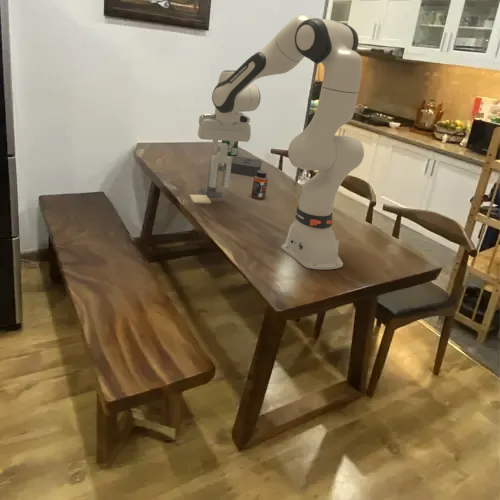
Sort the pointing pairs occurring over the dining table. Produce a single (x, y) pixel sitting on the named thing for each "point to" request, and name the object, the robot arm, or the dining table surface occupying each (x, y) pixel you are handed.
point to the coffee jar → (233, 149)
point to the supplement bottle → (259, 185)
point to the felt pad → (200, 199)
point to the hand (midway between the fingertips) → (222, 151)
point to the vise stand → (212, 190)
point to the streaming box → (245, 166)
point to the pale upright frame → (215, 160)
